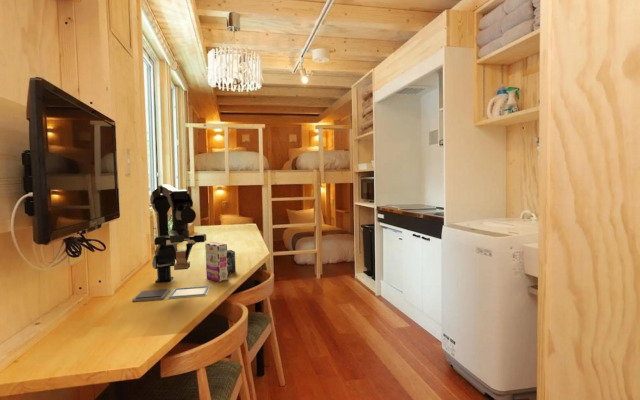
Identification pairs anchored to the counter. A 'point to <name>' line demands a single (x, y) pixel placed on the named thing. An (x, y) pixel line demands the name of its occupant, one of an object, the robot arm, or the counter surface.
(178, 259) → the stamp
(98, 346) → the counter surface
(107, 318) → the counter surface
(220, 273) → the candy bar box
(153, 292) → the ink pad
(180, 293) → the marked sheet
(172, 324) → the counter surface
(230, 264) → the box
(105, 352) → the counter surface
